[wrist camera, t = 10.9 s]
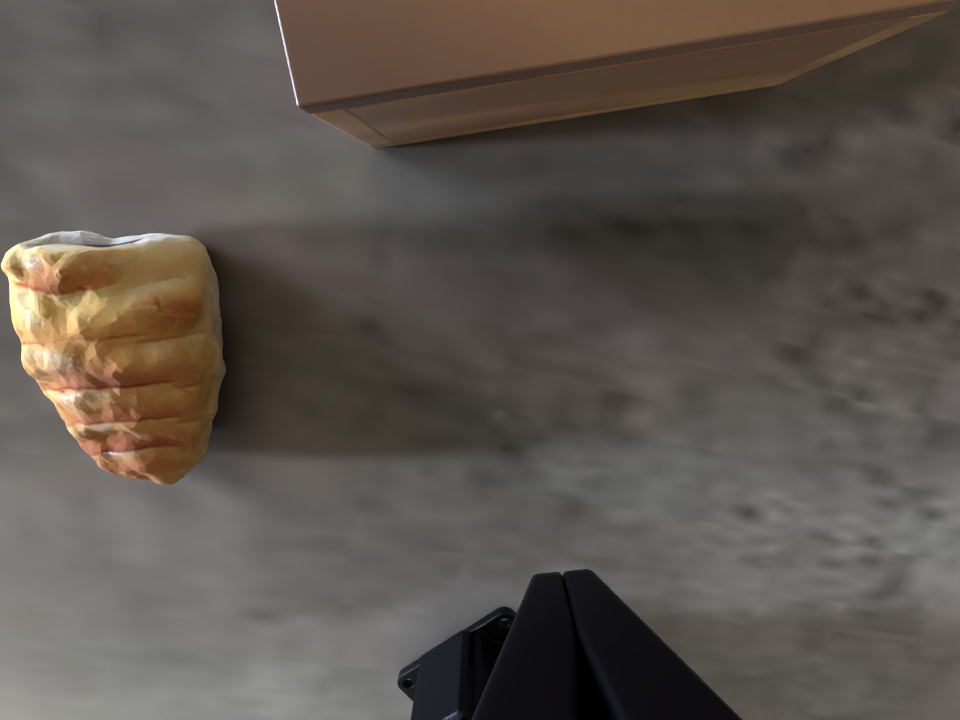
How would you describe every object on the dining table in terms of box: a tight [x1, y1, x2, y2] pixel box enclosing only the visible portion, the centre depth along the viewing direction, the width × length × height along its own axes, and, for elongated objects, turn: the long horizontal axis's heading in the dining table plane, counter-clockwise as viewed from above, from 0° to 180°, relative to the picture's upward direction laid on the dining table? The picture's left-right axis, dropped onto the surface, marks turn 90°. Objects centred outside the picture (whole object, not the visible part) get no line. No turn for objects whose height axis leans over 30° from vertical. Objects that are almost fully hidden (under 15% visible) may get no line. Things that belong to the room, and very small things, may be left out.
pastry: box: [1, 231, 226, 485], centre depth 18 cm, size 9×7×4 cm
